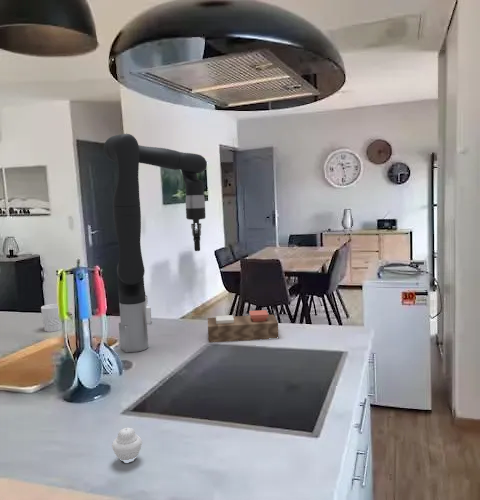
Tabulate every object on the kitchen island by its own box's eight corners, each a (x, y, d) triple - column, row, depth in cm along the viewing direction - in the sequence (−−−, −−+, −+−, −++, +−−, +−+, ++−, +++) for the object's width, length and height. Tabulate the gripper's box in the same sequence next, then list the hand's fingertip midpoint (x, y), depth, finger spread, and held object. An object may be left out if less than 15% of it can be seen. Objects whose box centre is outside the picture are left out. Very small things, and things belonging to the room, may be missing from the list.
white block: (216, 335, 179) (216, 320, 178) (216, 330, 185) (215, 316, 184) (234, 334, 179) (233, 319, 178) (233, 329, 186) (232, 315, 185)
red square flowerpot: (251, 330, 179) (250, 315, 179) (249, 325, 186) (249, 310, 185) (268, 329, 180) (268, 314, 179) (266, 324, 186) (266, 310, 186)
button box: (208, 342, 176) (207, 326, 175) (208, 332, 188) (207, 317, 187) (278, 338, 178) (278, 322, 177) (273, 329, 190) (273, 314, 189)
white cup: (47, 333, 194) (45, 309, 192) (40, 329, 199) (38, 306, 198) (66, 329, 199) (64, 305, 198) (58, 325, 205) (56, 302, 203)
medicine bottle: (131, 321, 207) (129, 294, 205) (147, 319, 210) (146, 292, 208) (135, 325, 201) (133, 298, 199) (151, 323, 203) (150, 295, 202)
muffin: (145, 450, 104) (143, 420, 103) (140, 467, 98) (138, 435, 97) (116, 452, 104) (114, 422, 103) (110, 468, 98) (107, 436, 97)
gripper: (205, 207, 180) (207, 252, 183) (205, 205, 193) (206, 248, 196) (185, 207, 180) (187, 253, 182) (186, 206, 193) (188, 249, 195)
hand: (197, 250), depth 189 cm, fingers closed
